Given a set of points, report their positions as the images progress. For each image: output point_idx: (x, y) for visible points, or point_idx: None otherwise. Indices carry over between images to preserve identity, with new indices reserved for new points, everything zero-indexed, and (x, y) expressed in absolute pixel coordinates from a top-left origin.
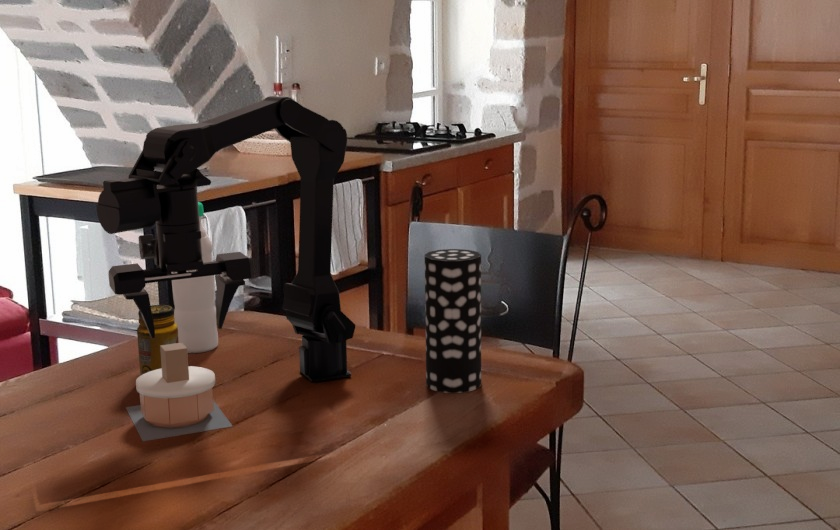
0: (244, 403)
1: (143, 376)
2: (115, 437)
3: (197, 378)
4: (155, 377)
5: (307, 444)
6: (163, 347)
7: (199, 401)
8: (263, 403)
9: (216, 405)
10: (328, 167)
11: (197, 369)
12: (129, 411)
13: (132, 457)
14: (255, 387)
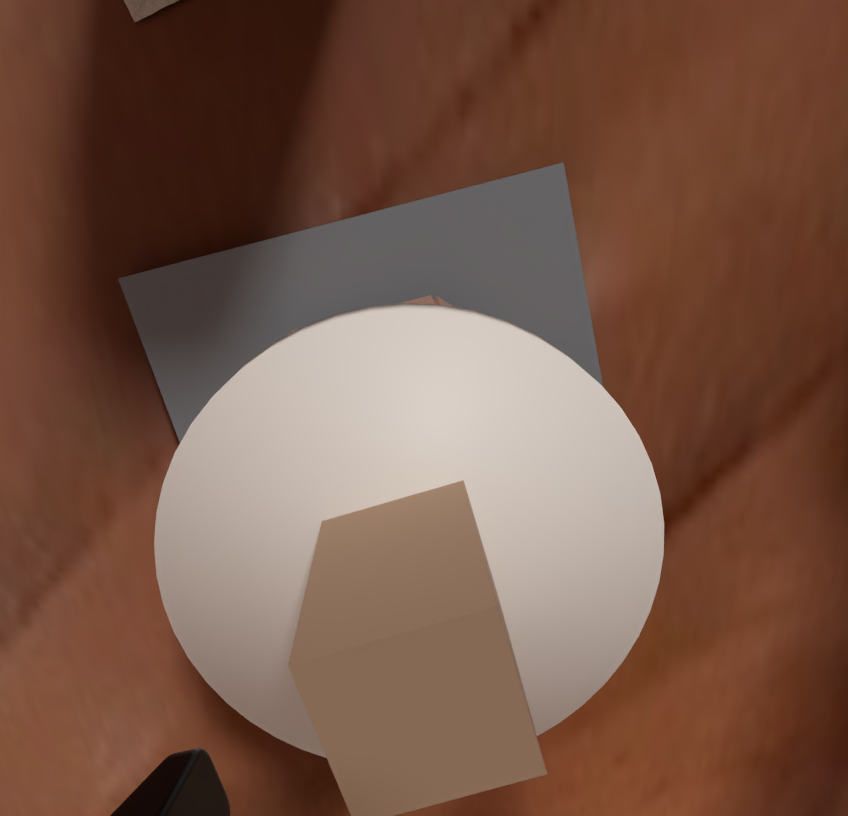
0: (728, 281)
1: (190, 491)
2: (151, 596)
3: (552, 594)
4: (277, 526)
5: None
6: (328, 722)
7: None
8: (818, 301)
9: (592, 347)
10: None
11: (557, 412)
12: (153, 347)
13: (259, 784)
14: (828, 13)
